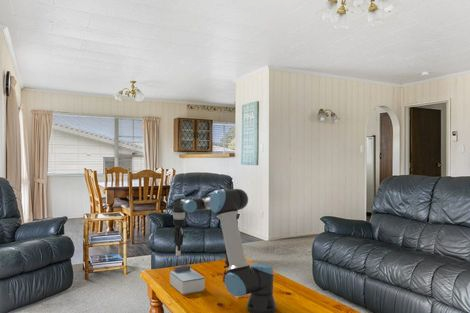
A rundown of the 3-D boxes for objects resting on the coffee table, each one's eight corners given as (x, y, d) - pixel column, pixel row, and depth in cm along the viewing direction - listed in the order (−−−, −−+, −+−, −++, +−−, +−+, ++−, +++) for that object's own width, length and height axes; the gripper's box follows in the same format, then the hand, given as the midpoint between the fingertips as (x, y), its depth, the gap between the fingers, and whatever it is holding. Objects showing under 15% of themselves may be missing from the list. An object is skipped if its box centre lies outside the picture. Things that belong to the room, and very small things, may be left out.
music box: (231, 285, 223) (229, 252, 224) (218, 283, 230) (216, 251, 231) (246, 279, 235) (244, 248, 236) (232, 277, 242) (231, 246, 243)
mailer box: (204, 290, 214) (204, 278, 214) (182, 295, 206) (182, 282, 206) (190, 280, 231) (190, 269, 231) (169, 284, 224) (170, 273, 224)
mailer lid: (204, 278, 214) (204, 272, 214) (182, 282, 206) (182, 275, 206) (190, 269, 231) (190, 263, 231) (170, 272, 224) (170, 266, 224)
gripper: (169, 217, 235) (168, 253, 235) (177, 220, 223) (176, 258, 223) (180, 216, 238) (179, 252, 238) (188, 219, 227) (187, 257, 227)
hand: (178, 255), depth 231 cm, fingers closed
